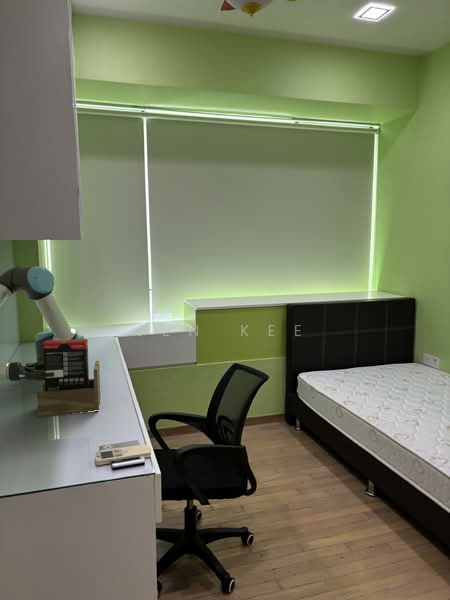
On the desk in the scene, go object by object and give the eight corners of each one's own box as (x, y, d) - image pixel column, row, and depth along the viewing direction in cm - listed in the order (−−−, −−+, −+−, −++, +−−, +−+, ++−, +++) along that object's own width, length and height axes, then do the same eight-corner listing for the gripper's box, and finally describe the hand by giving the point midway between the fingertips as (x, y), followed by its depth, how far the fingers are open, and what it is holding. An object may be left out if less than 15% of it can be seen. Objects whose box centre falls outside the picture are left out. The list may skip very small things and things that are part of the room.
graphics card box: (90, 398, 186) (88, 337, 182) (88, 404, 179) (85, 341, 176) (49, 401, 183) (45, 339, 179) (45, 407, 176) (41, 342, 173)
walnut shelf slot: (44, 404, 185) (42, 364, 182) (100, 399, 190) (99, 360, 188) (38, 417, 171) (35, 373, 169) (98, 411, 177) (97, 369, 174)
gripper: (17, 371, 186) (69, 368, 191) (2, 391, 162) (61, 386, 167) (16, 354, 185) (68, 352, 190) (0, 371, 161) (60, 368, 166)
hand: (65, 368), depth 178 cm, fingers open, 13 cm apart
